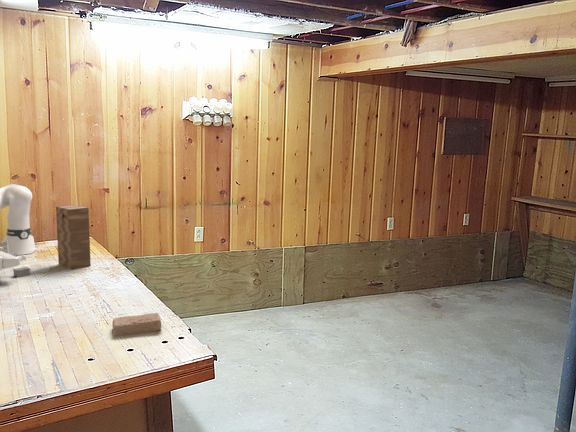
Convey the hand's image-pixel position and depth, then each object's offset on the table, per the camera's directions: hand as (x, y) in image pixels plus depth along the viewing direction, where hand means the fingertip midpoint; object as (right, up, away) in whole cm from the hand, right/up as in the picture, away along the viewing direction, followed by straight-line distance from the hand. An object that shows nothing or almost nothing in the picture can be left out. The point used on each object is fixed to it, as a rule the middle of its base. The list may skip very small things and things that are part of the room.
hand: (20, 256), depth 250 cm
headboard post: (+17, -7, +23) cm, 29 cm away
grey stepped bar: (+3, -9, +6) cm, 11 cm away
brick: (+74, -22, -63) cm, 100 cm away
